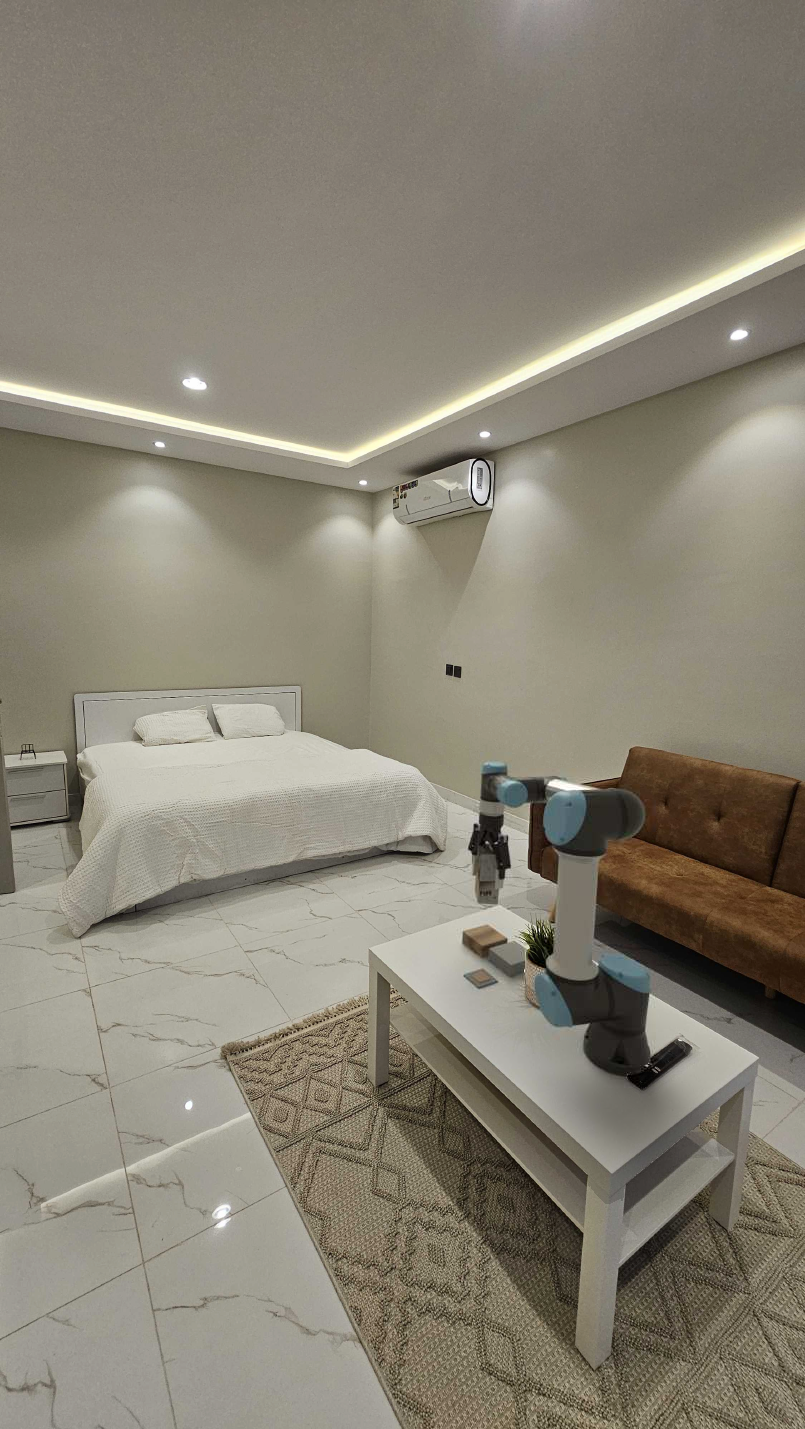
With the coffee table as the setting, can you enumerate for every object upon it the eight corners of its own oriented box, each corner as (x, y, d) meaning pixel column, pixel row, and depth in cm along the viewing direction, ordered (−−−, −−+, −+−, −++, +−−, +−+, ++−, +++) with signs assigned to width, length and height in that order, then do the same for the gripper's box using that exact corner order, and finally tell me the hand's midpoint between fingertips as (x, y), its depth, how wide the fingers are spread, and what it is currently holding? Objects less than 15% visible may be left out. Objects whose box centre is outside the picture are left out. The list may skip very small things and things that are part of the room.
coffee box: (498, 904, 183) (502, 854, 180) (477, 904, 183) (481, 853, 180) (493, 891, 192) (497, 843, 189) (473, 890, 192) (477, 842, 189)
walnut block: (506, 950, 188) (507, 938, 188) (481, 958, 183) (482, 946, 183) (486, 935, 197) (487, 924, 196) (462, 942, 192) (462, 931, 191)
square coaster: (498, 981, 171) (498, 979, 171) (478, 988, 168) (478, 986, 168) (482, 969, 177) (482, 967, 177) (463, 975, 174) (463, 973, 174)
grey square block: (535, 969, 179) (537, 956, 178) (510, 977, 174) (511, 964, 173) (513, 952, 187) (514, 940, 187) (488, 960, 182) (489, 948, 182)
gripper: (527, 822, 175) (521, 893, 179) (477, 800, 195) (473, 865, 198) (507, 825, 171) (502, 898, 175) (459, 803, 191) (455, 869, 194)
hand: (487, 881), depth 186 cm, fingers closed on coffee box, 10 cm apart
